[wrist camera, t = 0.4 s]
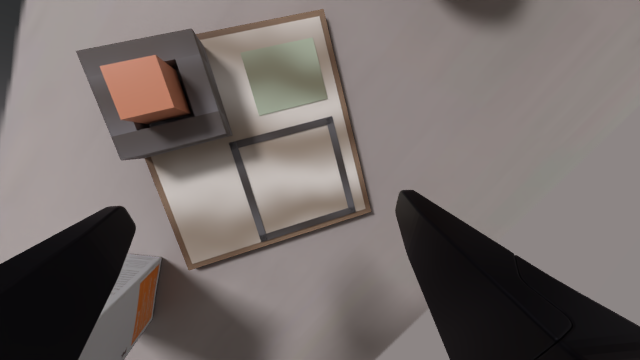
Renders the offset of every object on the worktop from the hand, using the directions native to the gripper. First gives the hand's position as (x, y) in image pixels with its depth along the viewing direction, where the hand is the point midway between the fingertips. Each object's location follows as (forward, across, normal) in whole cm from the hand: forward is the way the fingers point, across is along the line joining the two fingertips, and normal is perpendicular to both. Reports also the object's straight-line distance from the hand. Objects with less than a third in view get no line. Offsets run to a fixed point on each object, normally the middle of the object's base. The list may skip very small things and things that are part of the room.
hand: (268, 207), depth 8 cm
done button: (+12, +8, 0) cm, 14 cm away
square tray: (+14, +3, +4) cm, 15 cm away
